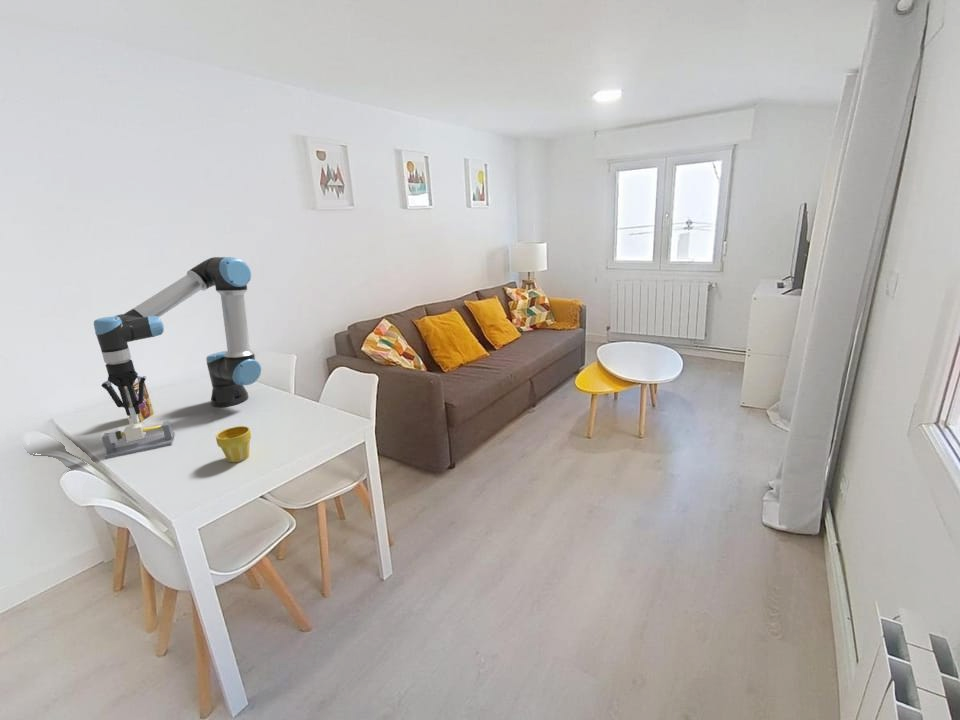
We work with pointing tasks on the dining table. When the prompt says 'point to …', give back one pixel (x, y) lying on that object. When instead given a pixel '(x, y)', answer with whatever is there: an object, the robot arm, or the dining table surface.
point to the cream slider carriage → (134, 431)
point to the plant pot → (235, 443)
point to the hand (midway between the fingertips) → (136, 422)
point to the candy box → (145, 405)
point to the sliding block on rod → (136, 441)
